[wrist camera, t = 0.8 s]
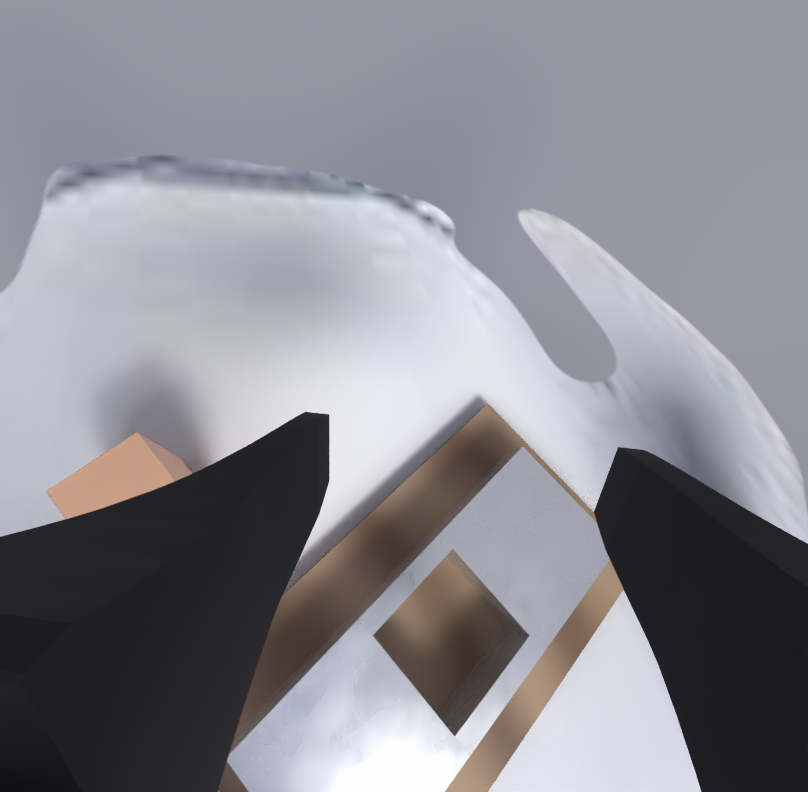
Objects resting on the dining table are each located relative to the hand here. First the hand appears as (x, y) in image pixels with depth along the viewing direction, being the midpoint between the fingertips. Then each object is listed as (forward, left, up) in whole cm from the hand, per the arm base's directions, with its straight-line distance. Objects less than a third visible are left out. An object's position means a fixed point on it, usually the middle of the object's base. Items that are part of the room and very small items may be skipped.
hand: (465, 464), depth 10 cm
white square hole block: (-2, -6, -16) cm, 17 cm away
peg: (-9, +9, -16) cm, 20 cm away
